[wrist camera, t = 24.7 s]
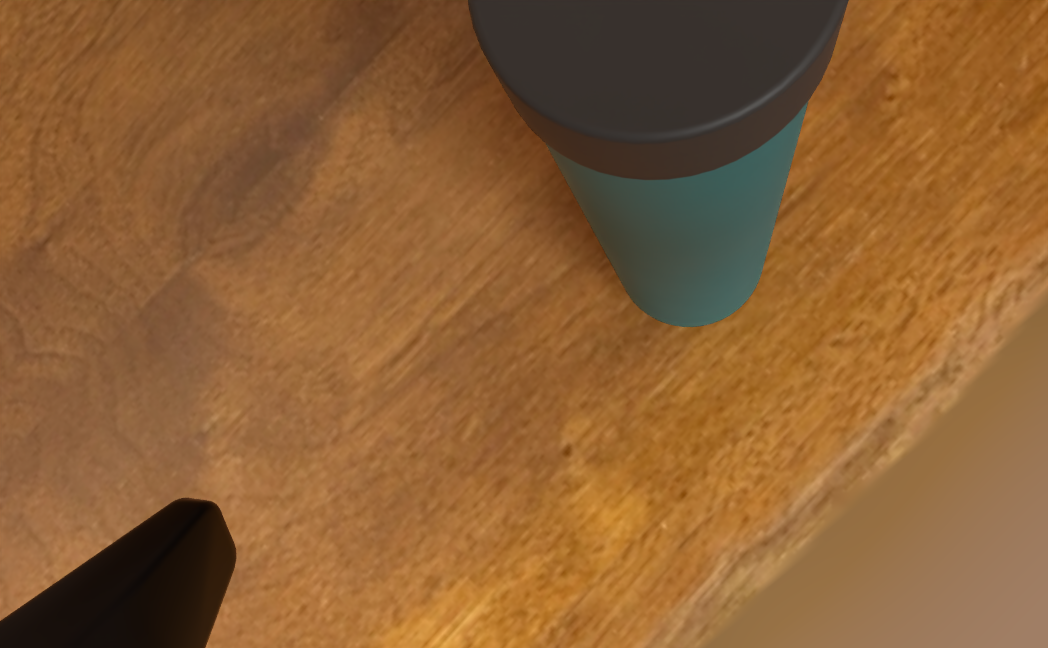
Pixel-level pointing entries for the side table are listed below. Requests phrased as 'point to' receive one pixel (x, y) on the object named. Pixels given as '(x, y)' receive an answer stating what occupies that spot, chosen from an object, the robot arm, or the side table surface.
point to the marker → (668, 128)
